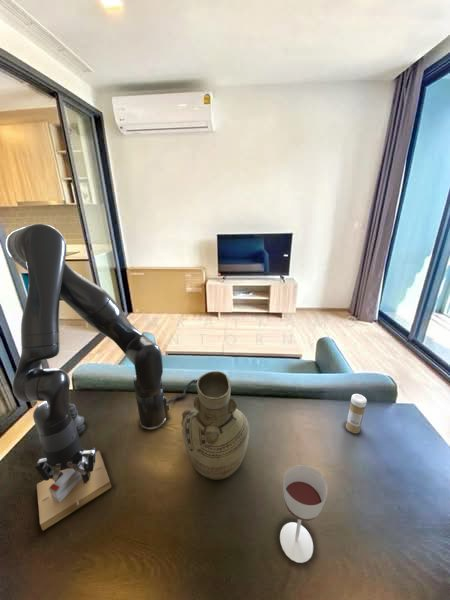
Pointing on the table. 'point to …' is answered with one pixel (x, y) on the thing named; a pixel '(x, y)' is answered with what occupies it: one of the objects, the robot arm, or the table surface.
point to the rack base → (71, 495)
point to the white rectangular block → (65, 484)
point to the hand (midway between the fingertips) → (74, 482)
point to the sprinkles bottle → (356, 413)
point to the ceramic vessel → (215, 428)
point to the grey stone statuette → (77, 419)
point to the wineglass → (301, 509)
